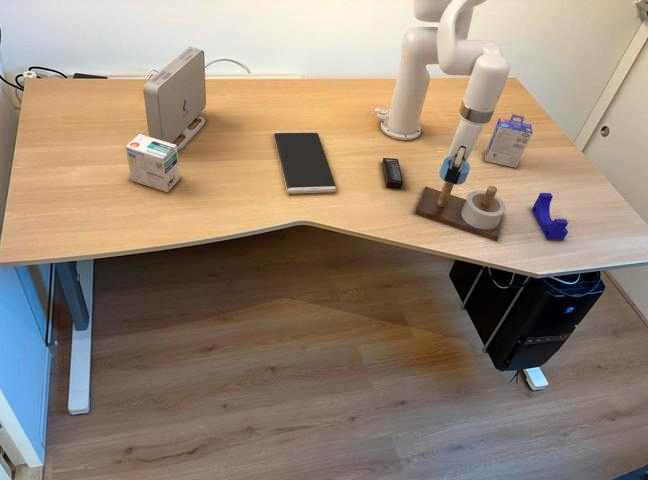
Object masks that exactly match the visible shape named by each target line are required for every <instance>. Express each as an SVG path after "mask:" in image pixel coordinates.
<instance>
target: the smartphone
mask: <svg viewBox="0 0 648 480" xmlns="http://www.w3.org/2000/svg"><path fill="white" fill-rule="evenodd" d="M273 139H274V143H275V148H276V151H277V155H278V159H279V164H280V168H281V171H282V177H283V180H284V183H285V188H286V192H287V193H288V194H290V195H292V194H296V195H297V194H318V193H319V194H320V193H322V194H323V193H325V194H326V193H335V192H336V191H337V185H336V183H335V179H334V177H333V173H332V170H331V168H330V165H329V162H328V159H327V156H326V152H325V150H324V147H323V144H322V141H321V138H320V135H319V133H318V132H317V131H275V132H273Z"/></svg>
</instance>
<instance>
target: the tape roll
mask: <svg viewBox="0 0 648 480" xmlns="http://www.w3.org/2000/svg"><path fill="white" fill-rule="evenodd" d="M452 160H453V158H451V157H448V156H447V157H446V158H444V159H443V161H442V164H441V167H440V170H439V172H438V175H439V178H440V179H441V180H442V181H444V183H445V182H447V181H445V180H444V179H445V176H446V173H447V171H448V168H449V166H450V165H451V162H452ZM455 161H456V160H454V163H455ZM461 162H462V161H461ZM461 162H460V165H461ZM454 163H453V164H454ZM461 170H462V171H461V174H460V176H459V179H458V182H457V184H454V186H456V185H457V186H458V185H459V186H460V185H462V184H464V183H466V180H467V178H468V175H469V173H470V170H471V165H470V163H469V162H468V161H466V162H464V163H463V166H462V168H461ZM447 183H450V182H447ZM450 184H453V183H450Z"/></svg>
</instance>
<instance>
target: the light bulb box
mask: <svg viewBox="0 0 648 480" xmlns="http://www.w3.org/2000/svg"><path fill="white" fill-rule="evenodd" d="M177 146H178V145H177V144H175V143H173V142H172V143H169V142H165V141H161V140H158V139H155V138H152V137H149V135H145V134H142V133H138V135H136V136H135V138H133V139H132V140H131V141H130V142H129V143H127V144H126V145H125V151H126V157H127V163H128V167H129V168H128V169H129V174H130V180H131V181H132V182H134V183H138V184H141V185H144V186H146V187H150V188H153V189H156V190H158V191H162V192H165V193H169V191H170V190H171V189H172V188H173V187H174V186H175V185H176V184H177V183H178V182H179V181H180V179H181V177H180V165H179V164H180V163H179V155H178V150H177Z"/></svg>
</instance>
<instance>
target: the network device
mask: <svg viewBox="0 0 648 480" xmlns="http://www.w3.org/2000/svg"><path fill="white" fill-rule="evenodd" d="M205 63H206V61H205V51H204V50H203V49H199V48H196V47H193V46H189V47H188V48H186V49H185V50H184V51H182V52H181V53H180V54H179V55H178V56H176V57H175V58H174V59H172V61H170V62H169V63H168V64H167V65H166V66H164V67H163V68H162V69H161V70H160V71H158V72H157V73H156V74H155V75H154V76H152V78H150V79H149V80H147V82H146V83H145V84H144V85H143V89H142V91H143V99H144V106H145V116H146V123H147V131H148V137H152V138H155V139H158V140H161V141H165V142H169V143H172V144H173V142H174V141H176V139H177V138H178V137H179V136H181V137H185V138H184V139H183V140H182V141H181V142H180V143H179V144H178V145H177V151H179V150H182V149H183V148H184V147H185V146H186V145H187V144H188V142H189V141H191V139H192V138H193V137H194V136H195V135H196V134H197V133H198V132H199V131H200V130H201V128H203V126H204V125H205V124H206V120H205V118H204V117H203V116H202V115H200V114H201V113H202V112H203V111H204V110H205V109H206V106H207V94H206V93H207V90H206V88H207V87H206V64H205ZM194 120H197V121H200V122H199V123H198V124H197V125H196V126H195V128H193V129H189V126H190V125H191V124H192V123H193V122H194Z"/></svg>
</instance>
